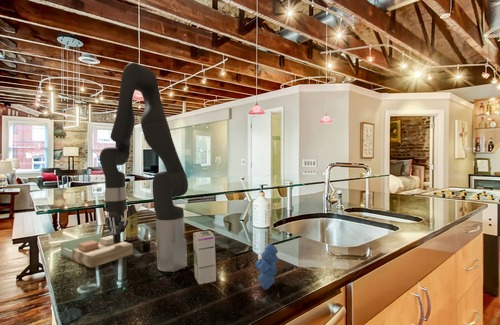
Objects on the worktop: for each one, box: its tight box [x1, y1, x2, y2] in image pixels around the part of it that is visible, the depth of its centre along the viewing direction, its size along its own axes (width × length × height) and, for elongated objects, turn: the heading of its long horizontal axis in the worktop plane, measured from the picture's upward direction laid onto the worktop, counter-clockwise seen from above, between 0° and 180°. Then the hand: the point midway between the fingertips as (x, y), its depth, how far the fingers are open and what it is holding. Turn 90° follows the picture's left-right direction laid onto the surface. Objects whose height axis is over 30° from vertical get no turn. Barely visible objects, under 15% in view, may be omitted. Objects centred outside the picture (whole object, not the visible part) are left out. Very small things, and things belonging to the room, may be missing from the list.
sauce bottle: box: [126, 205, 139, 242], centre depth 131 cm, size 7×6×20 cm
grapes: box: [254, 243, 280, 290], centre depth 83 cm, size 12×7×12 cm, turn 157°
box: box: [60, 232, 103, 261], centre depth 116 cm, size 10×16×5 cm, turn 145°
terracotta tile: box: [78, 240, 99, 251], centre depth 108 cm, size 5×5×2 cm
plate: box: [72, 240, 134, 269], centre depth 109 cm, size 14×16×4 cm
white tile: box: [100, 234, 113, 245], centre depth 114 cm, size 5×5×2 cm
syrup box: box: [192, 230, 217, 285], centre depth 88 cm, size 6×6×14 cm
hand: (117, 242), depth 111 cm, fingers closed
